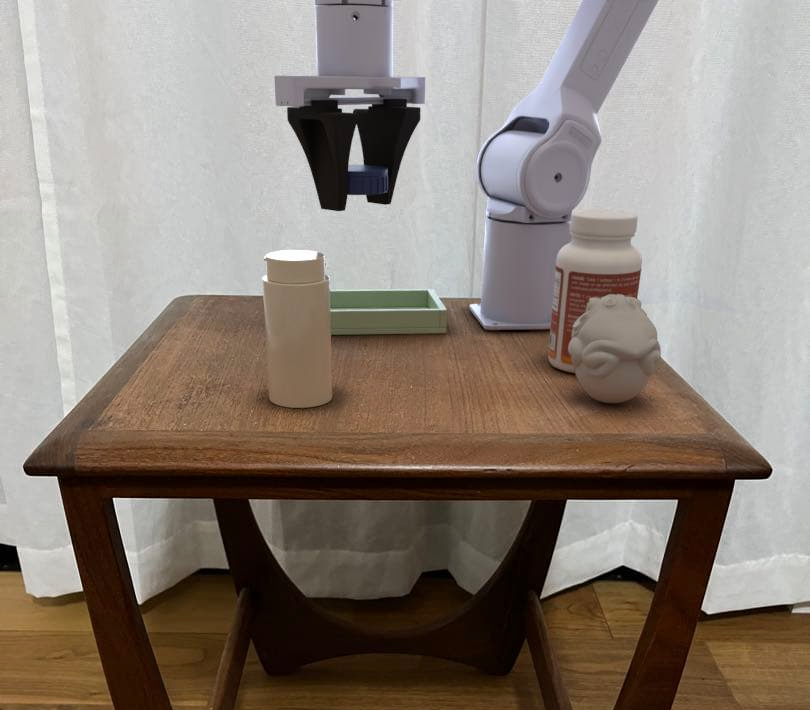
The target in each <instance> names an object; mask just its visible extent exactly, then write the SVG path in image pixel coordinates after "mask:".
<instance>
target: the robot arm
mask: <svg viewBox="0 0 810 710" xmlns="http://www.w3.org/2000/svg"><path fill="white" fill-rule="evenodd" d="M659 1H660V0H582V1H581V2H580V4H579V6H578V8H577V10H576V12H575V14H574V16H573V17H572V19H571V22H570V24H569V26H568V28H567V29H566V32H565V33H564V35H563V37H562V39H561V41H560V43H559V45H558V47H557V49H556V50H555V53H554V55H553V56H552V58H551V60H550V63H549V64H548V65H547V68H546V69H545V72H544V73H543V76H542V77H541V80H540V81H539V84H538V85H537V86H536V87H535V88H534V89H533V90H531V92H530V93H529V94H527V95H526V96H525V97H524V98H523V99H521V101H519V103H517V105H515V106H514V107H513V109H512V111H511V112H510V114H509V116H508V118H507V119H506V121H505V123H504V124H503V125H502V126H501V127H500V128H499V129H498V130H497V131H496V132H494V133H493V134H491V135H490V136H489V137H488V138H487V139H486V140H485V142H484V143H483V145H482V146H481V148H480V150H479V153H478V155H477V160H476V166H475V175H476V180H477V184H478V187H479V188H480V190H481V192H482V193H483V195H484V196H485V197H486V198H487V203H486V204H487V205H486V208H485V215H486V216H485V222H484V223H485V225H484V239H483V241H484V243H483V257H482V276H481V277H482V278H481V292H480V293H481V294H480V303H471V304H469V310H470V312H471V313H472V314H473V316H474V317H475V318H476V320H477V321H478V322H479V323H480V325H481V326H482V328H483V329H484V330H487V331H517V330H518V331H519V330H520V331H521V330H522V331H523V330H528V331H529V330H550V328H551V316H552V305H553V293H554V282H555V270H556V260H557V255H558V253H559V251H560V250H561V248H562V247H563V246H565V245H566V244H568V243H570V242H571V241H572V235H571V234H570V229H569V227H570V220H571V214H572V212H573V211H575V209H576V208H577V207H578V206H579V205H580V203H581V202H582V200H584V197H585V196H586V193H587V191H588V188H589V185H590V181H591V174H592V173H591V172H592V166H593V162H594V160H595V157H596V154H597V152H598V151H599V148H600V146H601V145H602V143H603V137H602V133H601V128H600V125H599V121H598V114H599V112H600V110H601V108H602V106H603V104H604V102H605V101H606V99H607V97H608V95H609V94H610V91H611V90H612V88H613V86H614V84H615V82H616V80H617V78H618V77H619V75H620V73H621V71H622V69H623V67H624V65H625V63H626V61H627V60H628V59H629V56H630V54H631V52H632V50H633V49H634V47H635V45H636V44H637V41H638V40H639V38H640V36H641V33H642V32H643V30H644V29H645V27H646V24H647V23H648V21H649V19H650V17H651V15H652V14H653V11H654V10H655V8H656V7H657V4H658V3H659ZM314 18H315V19H314V24H315V25H314V27H315V57H316V58H315V61H316V75H274V96H275V98H274V99H275V106H276V107H286V115H287V117H286V118H287V122H288V124H289V125H290V127H291V128H292V130H293V132H294V134H295V136H296V138H297V140H298V142H299V143H300V146H301V148H302V151H303V153H304V155H305V158H306V160H307V163H308V166H309V169H310V173H311V176H312V179H313V183H314V186H315V190H316V195H317V199H318V202H319V206H320V209H321V210H326V211H334V212H343V211H346V208H347V202H348V195H347V194H348V165H350V156H351V155H350V154H351V148H352V144H353V138H354V134H355V130H356V128H357V131H358V136H359V140H360V144H361V151H362V160H363V165H374V166H382V167H386V168H388V175H389V190H388V191H387V192H386V193H382V194H374V195H365V196H366V201H367V203H368V204H369V203H370V204H377V205H385V206H386V205H392V200H393V197H394V191H395V187H396V184H397V179H398V175H399V172H400V168H401V164H402V160H403V159H404V158H403V157H404V155H405V152H406V149H407V147H408V144H409V142H410V140H411V138H412V136H413V134H414V132H415V130H416V128H417V126H419V123H420V122H421V110H422V109H421V107H418V106H408V104H411V105H425V104H426V77H424V76H394V0H314ZM347 90H363V94H364V95H378V96H346V95H347ZM331 96H332V97H331ZM333 96H334V97H333ZM335 96H336V97H335ZM337 96H338V97H337ZM339 96H340V97H339ZM343 96H345V97H343ZM356 105H369V106H368V108H354V109H353V110H352V112H343V108H339V106H356ZM370 105H371V106H370Z"/></svg>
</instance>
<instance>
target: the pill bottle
mask: <svg viewBox="0 0 810 710" xmlns="http://www.w3.org/2000/svg"><path fill="white" fill-rule="evenodd" d="M638 219H639V217H638V214H636V213H633V212H630V211H624V210H623V211H622V210H610V209H582V210H576V211H575V210H574V211H572V214H571V220H570V227H569V229H570V234H571V235H572V241H571V242H570V243H568V244H566V245H565V246H563V247H562V248H561V250H560V251H559V253H558V255H557V260H556V270H555V282H554V293H553V305H552V316H551V328H550V329H549V330H550V331H549V340H548V341H549V342H548V353H547V358H548V359H547V360H548V362H549V363H550V365H551V366H552V367H553V368H555V369H558V370H560V371H563V372H567V373H572V374H576V373H575V370H574V366H573V363H572V361H571V357H572V356H571V355H570V354H569V351H568V346H569V343H570V341H571V340H572V339H571V336H572V330H573V325H574V323H575V322H576V320H577V319H578V318H579V317H580V316H581V315H583V314H584V313H585V312H586V307H587V306H588V305H587V303H589V299H590V298H593V297H595V298H599V299H601V298H602V297H604V296H607V295H609V294H613V295H617V294H621V295H624V296H625V297H634V298H636V299H638V297H639V296H638V295H639V290H640V282H641V274H642V266H643V257H642V254H641V252H640V251H639V250H638V248H636V247H635V246H633V245H632V238H635V236H636V233H637V228H638Z"/></svg>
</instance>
